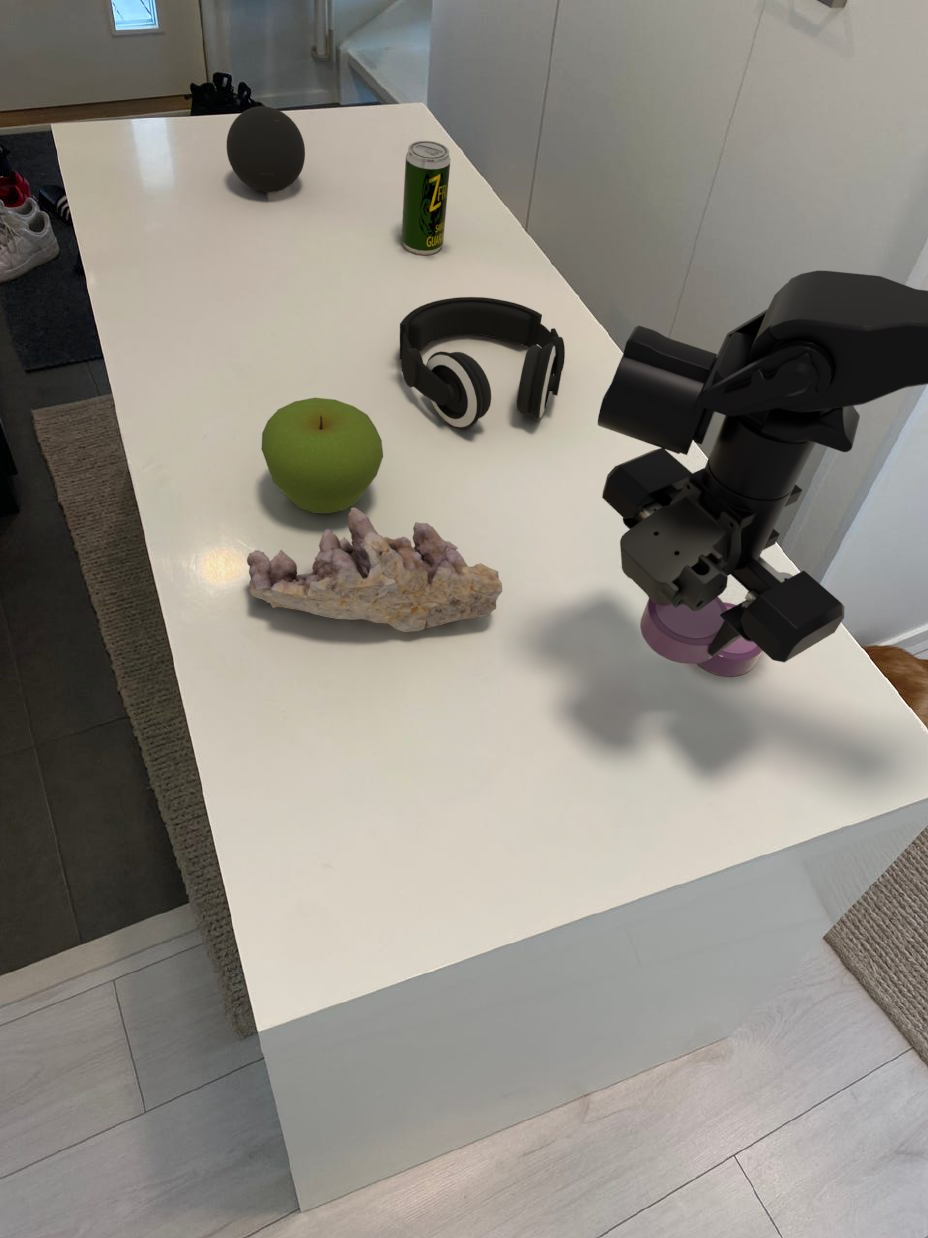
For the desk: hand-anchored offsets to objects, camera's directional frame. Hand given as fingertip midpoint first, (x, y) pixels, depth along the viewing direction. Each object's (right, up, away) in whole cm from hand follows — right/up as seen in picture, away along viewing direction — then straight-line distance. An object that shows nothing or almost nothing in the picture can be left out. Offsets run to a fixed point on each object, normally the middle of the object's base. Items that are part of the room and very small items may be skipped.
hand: (683, 623), depth 72 cm
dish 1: (0, -1, +1) cm, 1 cm away
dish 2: (+6, -2, +9) cm, 11 cm away
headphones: (-15, +26, +31) cm, 43 cm away
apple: (-30, +12, +16) cm, 37 cm away
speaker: (-43, +58, +53) cm, 90 cm away
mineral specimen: (-25, +1, +8) cm, 26 cm away
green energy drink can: (-22, +48, +48) cm, 72 cm away
